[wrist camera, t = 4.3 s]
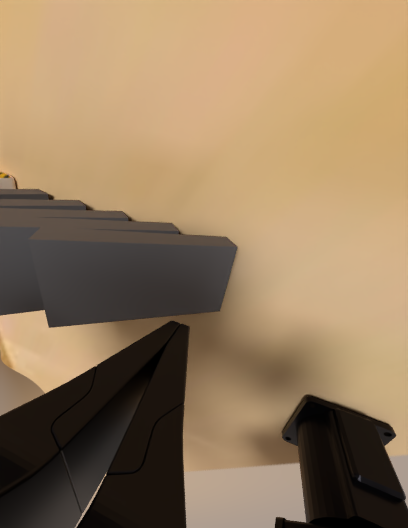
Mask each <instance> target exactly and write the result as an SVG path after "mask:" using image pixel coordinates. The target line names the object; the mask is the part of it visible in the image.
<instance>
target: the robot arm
mask: <svg viewBox="0 0 408 528" xmlns="http://www.w3.org/2000/svg"><path fill="white" fill-rule="evenodd" d="M189 329H190V327H189V326H187V325H184V324H180V323H178V322H175V321H170V322H168V323H167V324H165V325H163V326H162V327H160V328H158V329H157V330H155V331H153V332H152V333H150V334H148V335H147V336H145V337H143V338H142V339H140V340H138V341H137V342H135V343H133V344H132V345H130V346H128V347H127V348H125V349H123V350H122V351H120V352H118V353H117V354H115V355H113V356H111V357H110V358H108V359H106V360H105V361H103V362H101V363H100V364H98V365H97V367H96V366H95V367H93V368H91V369H90V370H88V371H86V372H85V373H83V374H81V375H79V376H78V377H76V378H74V379H72V380H71V381H69V382H67V383H65V384H63V385H61V386H59V387H57V388H55V389H53V390H51V391H50V392H48V393H46V394H44V395H42V396H40V397H38V398H36V399H33V400H32V401H30V402H28V403H25V404H23V405H21V406H19V407H17V408H15V409H13V410H11V411H9V412H7V413H5V414H3V415H1V416H0V528H74V527H75V526H76V524H77V523H78V521H79V519H80V517H81V516H82V513H83V512H84V510H85V508H86V507H87V505H88V503H89V501H90V500H91V498H92V496H93V495H94V493H95V491H96V490H97V487H98V486H99V484H100V483H101V481H102V479H103V477H104V476H105V474H106V472H107V474H106V476H105V478H104V480H103V482H102V484H101V486H100V488H99V490H98V492H97V494H96V496H95V498H94V500H93V501H92V503H91V505H90V507H89V509H88V510H87V512H86V513H85V515H84V517H83V518H82V520H81V521H80V523H79V525H78V526H77V528H186V510H185V489H184V465H183V417H184V401H185V387H186V372H187V358H188V344H189ZM395 437H396V434H395V432H394V430H393V428H392V427H391V426H389V425H387V424H384V423H381V422H379V421H376V420H373V419H371V418H368V417H365V416H363V415H360V414H357V413H355V412H352V411H349V410H347V409H344V408H341V407H339V406H336V405H333V404H331V403H328V402H325V401H323V400H320V399H317V398H315V397H306V398H305V399H304V400H303V402H302V403H301V405H300V406H299V408H298V409H297V411H296V412H295V414H294V415H293V417H292V418H291V420H290V421H289V423H288V424H287V425H286V427H285V428H284V430H283V431H282V438H283V439H284V440H285V441H287V442H289V443H292V444H294V445H296V446H298V452H299V461H300V469H301V479H302V488H303V497H304V506H305V514H306V523H305V522H297V521H289V520H286V519H285V518H281V517H276V522H275V528H408V508H407V506H406V503H405V501H404V500H405V499H406V496H405V493H404V491H403V489H402V487H401V484H400V482H399V479H398V477H397V475H396V472H395V470H394V468H393V465H392V463H391V461H390V458H389V456H388V454H387V452H386V449H385V447H384V446H385V445H386V444H388V443H389V442H390V441H391V440H392V439H394V438H395Z"/></svg>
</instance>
